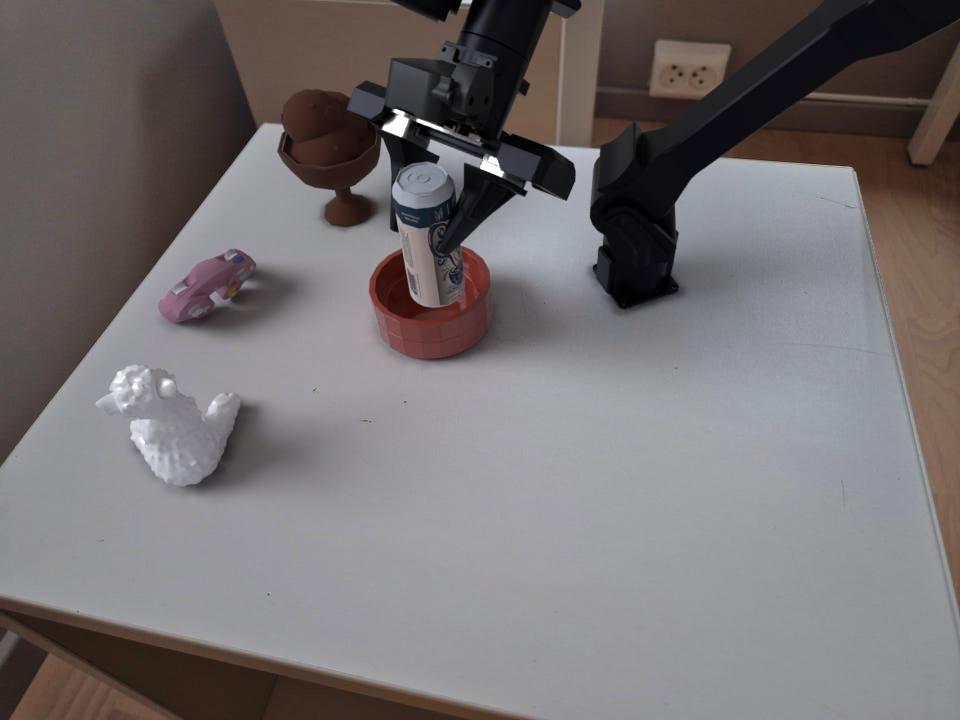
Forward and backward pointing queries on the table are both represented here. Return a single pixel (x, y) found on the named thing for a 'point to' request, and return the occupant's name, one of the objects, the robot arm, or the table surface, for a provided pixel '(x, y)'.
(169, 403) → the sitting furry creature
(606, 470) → the table surface
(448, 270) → the beer can
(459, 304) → the red bowl
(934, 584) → the table surface
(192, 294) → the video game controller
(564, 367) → the table surface
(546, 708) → the table surface
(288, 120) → the ice cream bowl
